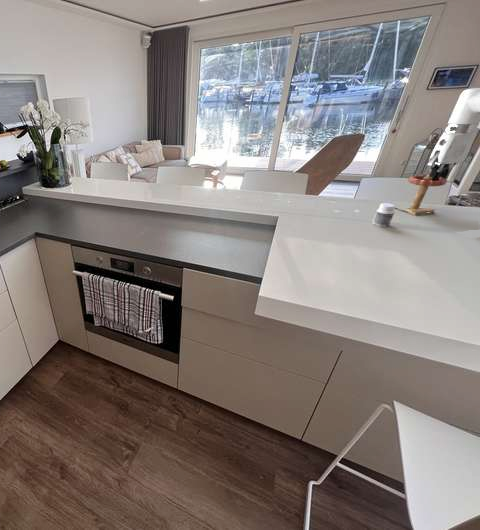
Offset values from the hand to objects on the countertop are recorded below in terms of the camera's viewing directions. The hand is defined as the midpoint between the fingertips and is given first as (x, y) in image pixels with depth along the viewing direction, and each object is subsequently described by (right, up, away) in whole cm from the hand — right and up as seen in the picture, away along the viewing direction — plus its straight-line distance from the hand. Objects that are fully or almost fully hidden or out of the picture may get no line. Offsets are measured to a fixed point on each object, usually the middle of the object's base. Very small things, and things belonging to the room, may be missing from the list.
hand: (435, 181), depth 110 cm
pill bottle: (-26, -18, -4) cm, 32 cm away
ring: (-4, 0, -1) cm, 4 cm away
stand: (-3, -10, +5) cm, 12 cm away
